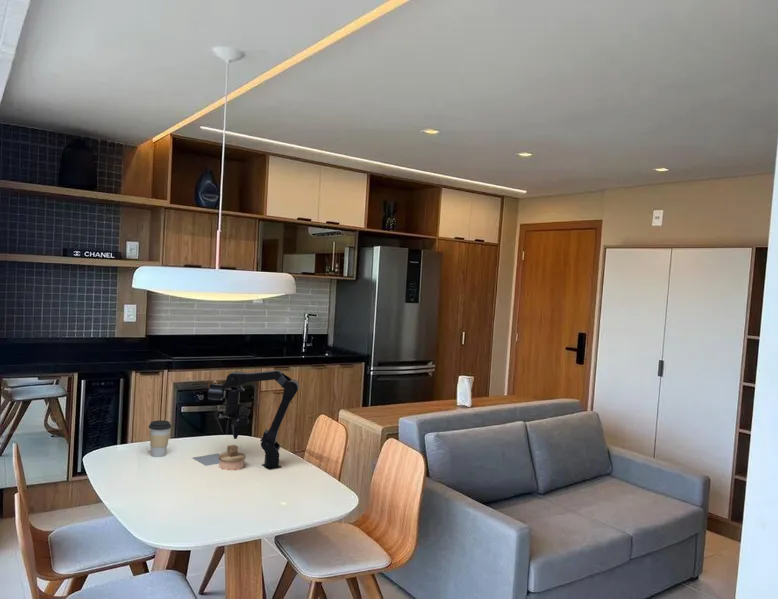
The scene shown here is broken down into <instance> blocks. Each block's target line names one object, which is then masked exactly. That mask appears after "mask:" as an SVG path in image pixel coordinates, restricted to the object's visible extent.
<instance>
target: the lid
mask: <svg viewBox="0 0 778 599" xmlns="http://www.w3.org/2000/svg"><path fill="white" fill-rule="evenodd" d="M218 454H219V460H221V461H224V462H240V461H243V460H244V461H245V460H246V454H245V453H243V452H239V446H238V445H235V444H232V445H231V444H230V445H227V448H226V451H225V452H221V453H218Z"/></svg>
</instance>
